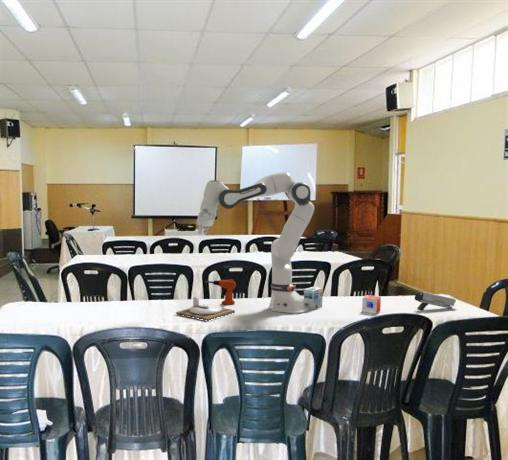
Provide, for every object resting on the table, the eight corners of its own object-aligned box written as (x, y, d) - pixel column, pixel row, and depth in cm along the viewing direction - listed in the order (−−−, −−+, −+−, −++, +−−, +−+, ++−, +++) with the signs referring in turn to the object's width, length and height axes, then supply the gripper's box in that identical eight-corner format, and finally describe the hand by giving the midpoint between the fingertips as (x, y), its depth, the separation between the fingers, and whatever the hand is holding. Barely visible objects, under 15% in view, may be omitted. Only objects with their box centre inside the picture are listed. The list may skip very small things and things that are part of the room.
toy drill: (201, 301, 278) (205, 275, 277) (233, 304, 281) (237, 279, 280) (202, 303, 273) (205, 277, 272) (234, 306, 276) (238, 280, 276)
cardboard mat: (234, 312, 257) (234, 309, 257) (207, 321, 240) (207, 318, 239) (203, 306, 270) (203, 304, 270) (176, 314, 252) (176, 311, 252)
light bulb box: (313, 309, 267) (313, 290, 266) (302, 308, 271) (303, 289, 270) (322, 306, 275) (323, 287, 274) (312, 304, 279) (312, 286, 278)
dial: (228, 309, 257) (228, 298, 256) (207, 316, 243) (207, 304, 242) (204, 305, 267) (204, 294, 266) (182, 311, 253) (182, 299, 252)
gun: (411, 307, 270) (415, 290, 270) (449, 315, 275) (453, 298, 275) (413, 308, 267) (417, 291, 267) (452, 316, 273) (456, 299, 272)
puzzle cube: (380, 310, 267) (380, 296, 266) (376, 313, 260) (376, 299, 259) (366, 308, 271) (366, 294, 270) (361, 311, 264) (362, 297, 263)
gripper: (208, 209, 249) (202, 235, 250) (218, 211, 269) (212, 234, 270) (197, 207, 250) (190, 232, 251) (208, 208, 270) (202, 232, 271)
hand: (202, 233), depth 261 cm, fingers open, 8 cm apart
